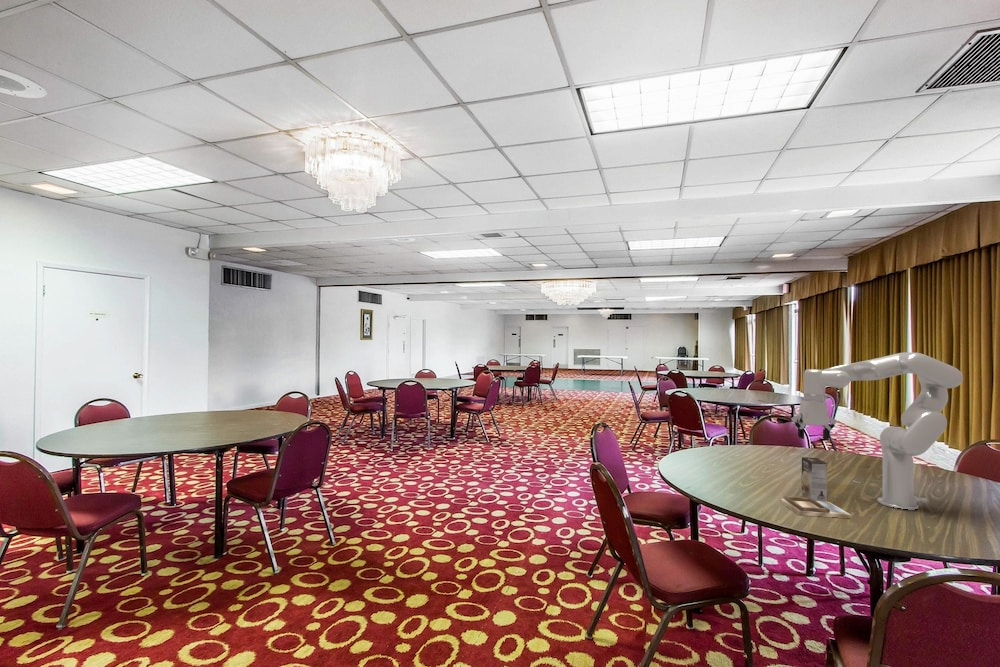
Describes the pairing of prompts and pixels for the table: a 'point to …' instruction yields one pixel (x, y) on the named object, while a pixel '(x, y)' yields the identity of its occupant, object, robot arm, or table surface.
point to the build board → (813, 507)
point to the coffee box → (814, 479)
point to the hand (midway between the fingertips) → (813, 438)
